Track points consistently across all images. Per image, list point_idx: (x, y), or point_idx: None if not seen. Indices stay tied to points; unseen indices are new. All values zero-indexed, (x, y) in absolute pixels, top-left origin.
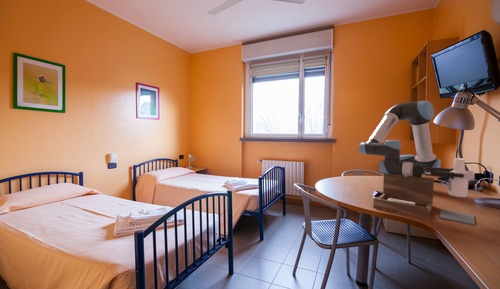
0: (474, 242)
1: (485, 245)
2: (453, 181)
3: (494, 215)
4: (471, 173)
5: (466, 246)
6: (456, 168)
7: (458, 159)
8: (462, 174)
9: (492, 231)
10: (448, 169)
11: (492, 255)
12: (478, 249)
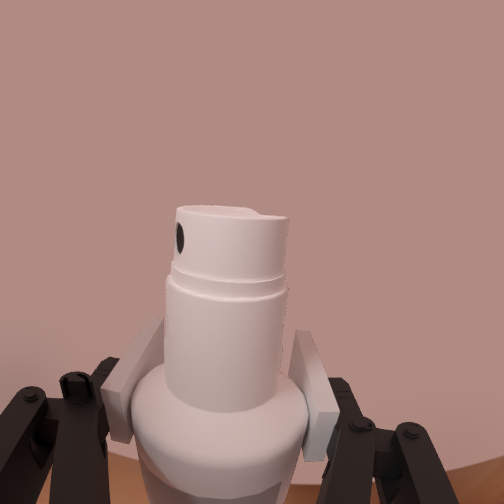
0: (458, 499)
1: (452, 483)
2: (284, 493)
3: None
4: (298, 337)
5: (498, 497)
6: (276, 365)
7: (287, 225)
8: (340, 382)
9: (312, 489)
10: (85, 437)
11: (488, 463)
12: (488, 482)
